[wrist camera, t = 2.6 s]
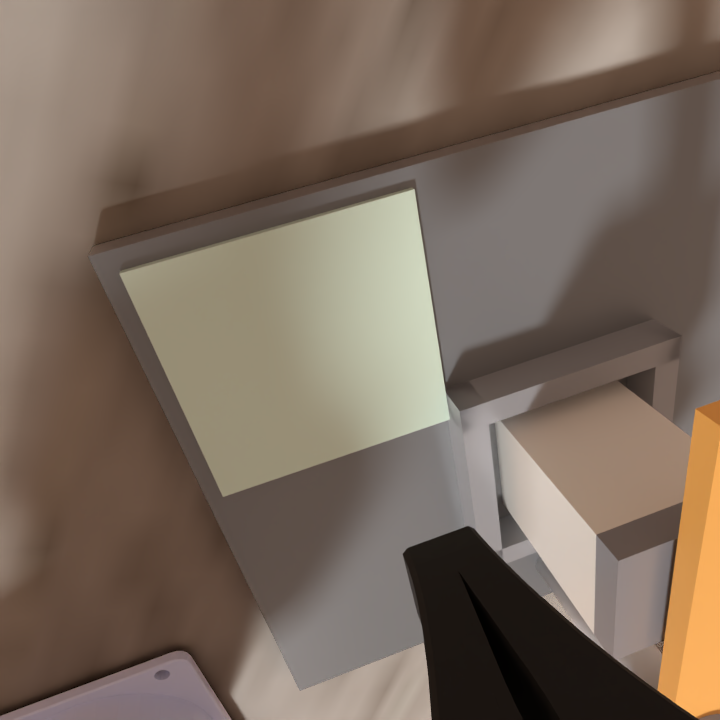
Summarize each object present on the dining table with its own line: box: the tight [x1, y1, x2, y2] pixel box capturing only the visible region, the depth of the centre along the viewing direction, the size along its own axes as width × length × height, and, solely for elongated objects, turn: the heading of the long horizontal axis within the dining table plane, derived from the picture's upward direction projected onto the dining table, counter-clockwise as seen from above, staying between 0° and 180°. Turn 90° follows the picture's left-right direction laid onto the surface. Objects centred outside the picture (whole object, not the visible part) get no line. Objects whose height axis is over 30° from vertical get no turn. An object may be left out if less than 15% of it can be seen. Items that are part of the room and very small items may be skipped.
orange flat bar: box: [658, 400, 720, 720], centre depth 14 cm, size 3×13×1 cm, turn 12°
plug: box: [495, 380, 692, 660], centre depth 16 cm, size 4×4×6 cm
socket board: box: [88, 71, 720, 691], centre depth 16 cm, size 18×18×7 cm
